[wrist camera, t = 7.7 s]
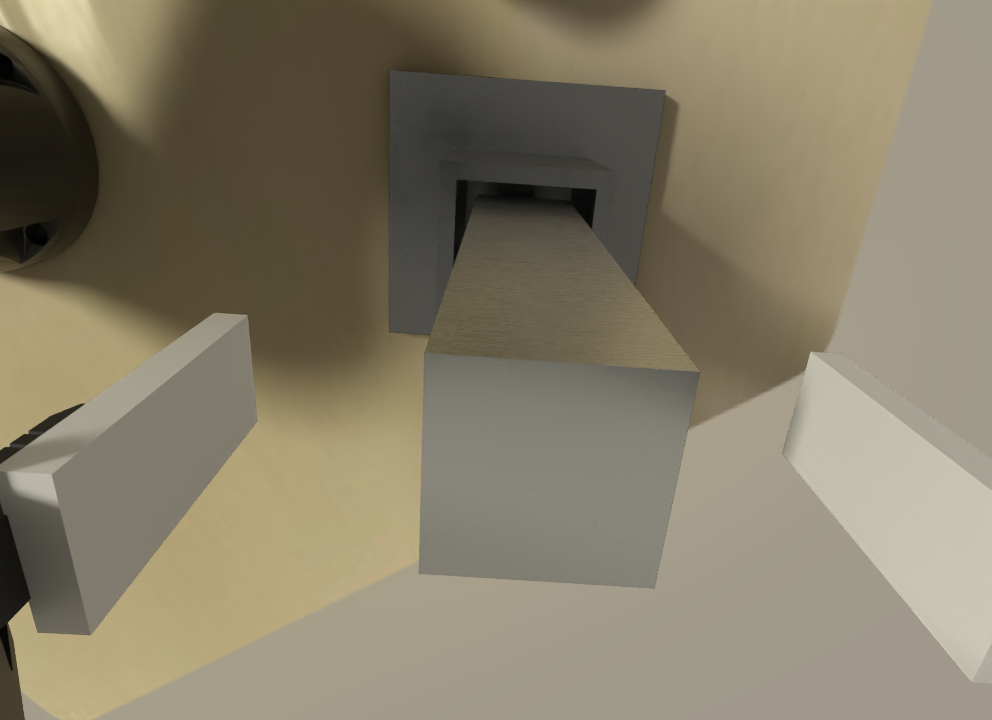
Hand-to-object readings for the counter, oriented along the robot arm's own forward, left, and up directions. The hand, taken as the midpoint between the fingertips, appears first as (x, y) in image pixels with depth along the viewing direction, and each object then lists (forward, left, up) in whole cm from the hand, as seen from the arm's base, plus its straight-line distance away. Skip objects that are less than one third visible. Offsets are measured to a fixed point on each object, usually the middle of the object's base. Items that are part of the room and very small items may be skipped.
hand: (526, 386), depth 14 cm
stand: (0, 0, -27) cm, 27 cm away
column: (0, 0, -18) cm, 18 cm away
